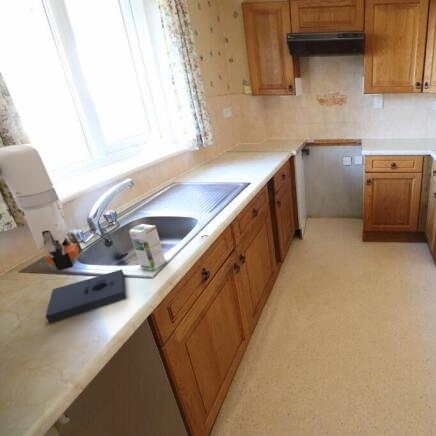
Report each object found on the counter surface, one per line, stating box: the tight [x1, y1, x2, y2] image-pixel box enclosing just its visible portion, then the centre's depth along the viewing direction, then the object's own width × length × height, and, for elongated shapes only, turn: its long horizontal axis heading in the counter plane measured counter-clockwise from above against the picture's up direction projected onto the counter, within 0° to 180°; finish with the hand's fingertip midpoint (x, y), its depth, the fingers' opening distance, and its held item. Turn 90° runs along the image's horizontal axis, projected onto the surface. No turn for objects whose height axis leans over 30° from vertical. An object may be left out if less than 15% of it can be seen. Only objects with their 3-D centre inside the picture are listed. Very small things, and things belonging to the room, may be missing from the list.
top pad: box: [44, 242, 80, 266], centre depth 83 cm, size 6×5×4 cm
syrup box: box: [128, 223, 167, 271], centre depth 107 cm, size 6×6×14 cm
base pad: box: [45, 268, 127, 324], centre depth 95 cm, size 18×14×2 cm
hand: (67, 262), depth 84 cm, fingers closed on top pad, 5 cm apart
